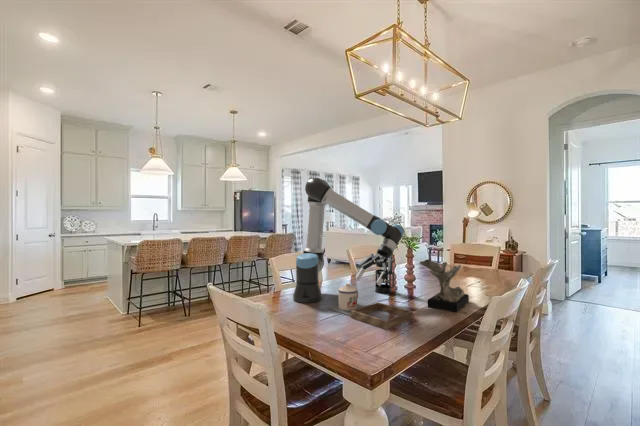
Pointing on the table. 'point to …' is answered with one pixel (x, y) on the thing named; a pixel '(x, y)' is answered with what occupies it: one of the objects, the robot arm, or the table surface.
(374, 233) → the robot arm
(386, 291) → the french press
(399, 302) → the table surface
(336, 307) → the rubber mat
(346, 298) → the teacup with lid
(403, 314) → the wooden frame
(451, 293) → the coral
